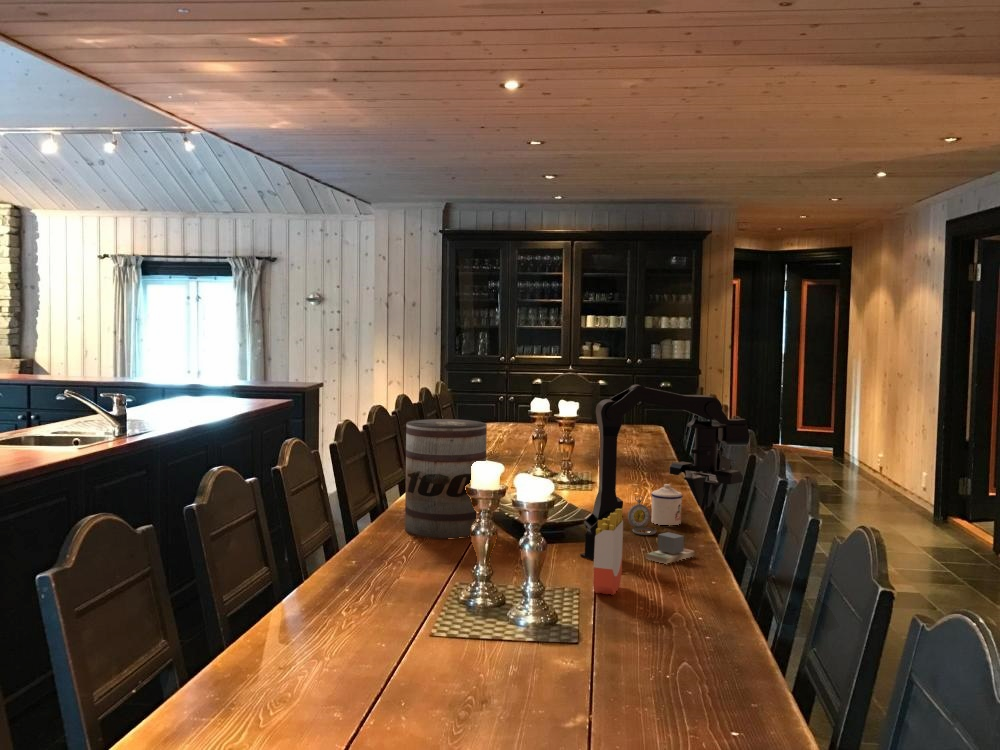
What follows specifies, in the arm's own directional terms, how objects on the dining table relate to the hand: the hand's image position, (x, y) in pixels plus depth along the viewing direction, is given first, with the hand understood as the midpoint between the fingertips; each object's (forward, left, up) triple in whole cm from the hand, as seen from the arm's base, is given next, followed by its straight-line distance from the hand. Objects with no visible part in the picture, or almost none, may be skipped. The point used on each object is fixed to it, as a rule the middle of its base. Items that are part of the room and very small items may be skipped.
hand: (704, 506), depth 225 cm
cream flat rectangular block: (-8, +4, -13) cm, 16 cm away
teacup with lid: (+24, +30, -13) cm, 40 cm away
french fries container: (-41, -4, -13) cm, 43 cm away
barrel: (-35, +62, -13) cm, 72 cm away
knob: (-8, +4, -11) cm, 14 cm away
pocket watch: (+8, +26, -13) cm, 30 cm away
